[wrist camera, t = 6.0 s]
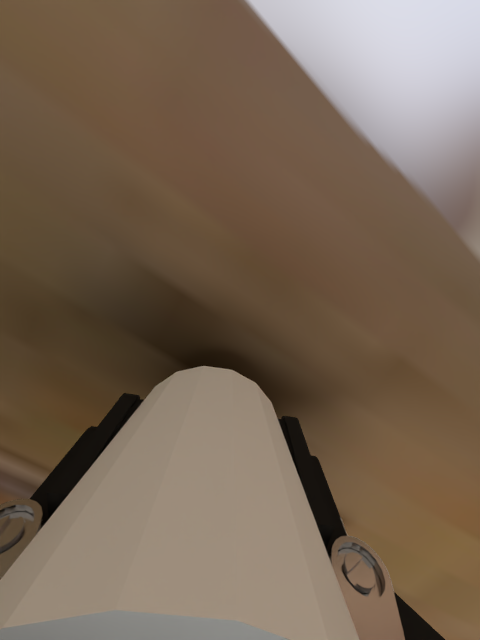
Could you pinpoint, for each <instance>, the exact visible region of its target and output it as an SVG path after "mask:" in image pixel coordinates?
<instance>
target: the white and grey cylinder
mask: <svg viewBox="0 0 480 640" xmlns="http://www.w3.org/2000/svg"><path fill="white" fill-rule="evenodd" d="M0 640H359V637H358V635H357V632H356V629H355V627H354V624H353V621H352V619H351V616H350V613H349V610H348V608H347V605H346V602H345V600H344V597H343V594H342V592H341V589H340V586H339V583H338V581H337V578H336V575H335V573H334V570H333V567H332V565H331V562H330V559H329V556H328V554H327V551H326V548H325V546H324V543H323V540H322V538H321V535H320V532H319V529H318V527H317V524H316V521H315V519H314V516H313V513H312V511H311V508H310V505H309V502H308V500H307V497H306V494H305V492H304V489H303V486H302V484H301V481H300V478H299V475H298V473H297V470H296V467H295V465H294V462H293V459H292V457H291V454H290V451H289V448H288V446H287V443H286V440H285V438H284V435H283V432H282V430H281V427H280V424H279V421H278V419H277V416H276V413H275V411H274V408H273V405H272V403H271V401H270V400H269V399H268V397H267V396H266V395H265V394H264V392H263V391H262V390H261V389H260V387H259V386H258V385H257V384H256V383H255V382H253V381H252V380H250V379H248V378H246V377H244V376H243V375H241V374H239V373H237V372H235V371H233V370H230V369H223V368H216V367H209V366H201V367H196V368H191V369H187V370H182V371H178V372H175V373H174V374H173V375H171V376H170V377H168V378H167V379H165V380H164V381H162V382H161V383H159V384H158V385H156V386H155V387H154V388H153V390H152V391H151V392H150V393H149V395H148V396H147V397H146V398H145V400H144V401H143V402H142V403H141V405H140V406H139V407H138V408H137V410H136V411H135V412H134V413H133V415H132V416H131V417H130V418H129V420H128V421H127V422H126V423H125V425H124V426H123V427H122V428H121V430H120V431H119V432H118V433H117V435H116V436H115V437H114V438H113V440H112V441H111V442H110V443H109V445H108V446H107V447H106V448H105V450H104V451H103V452H102V453H101V455H100V456H99V457H98V458H97V460H96V461H95V462H94V463H93V465H92V466H91V467H90V468H89V470H88V471H87V472H86V473H85V475H84V476H83V477H82V478H81V480H80V481H79V482H78V483H77V485H76V486H75V487H74V488H73V490H72V491H71V492H70V493H69V495H68V496H67V497H66V498H65V500H64V501H63V502H62V503H61V505H60V506H59V507H58V508H57V510H56V511H55V512H54V513H53V515H52V516H51V517H50V518H49V520H48V521H47V522H46V523H45V525H44V526H43V527H42V528H41V530H40V531H39V532H38V533H37V535H36V536H35V537H34V538H33V540H32V541H31V542H30V543H29V545H28V546H27V547H26V548H25V550H24V551H23V552H22V553H21V555H20V556H19V557H18V558H17V560H16V561H15V562H14V563H13V565H12V566H11V567H10V568H9V570H8V571H7V572H6V573H5V575H4V576H3V577H2V578H1V580H0Z"/></svg>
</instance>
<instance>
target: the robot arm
mask: <svg viewBox="0 0 480 640" xmlns="http://www.w3.org/2000/svg"><path fill="white" fill-rule="evenodd" d="M143 401H144V400H141V399H140V396H139V395H133V394H126V393H124V394H123V395H122V396H121V397H120V399H119V400H118V401H117V402H116V404H115V405H114V406H113V408H112V409H111V410H110V411H109V413H108V414H107V415H106V417H105V418H104V419H103V420H102V422H101V423H100V424H99V426H98V427H93V426H91V427H89V428H88V429H87V430H86V431H85V432H84V434H83V435H82V436H81V437H80V438H79V440H78V441H77V442H76V443H75V445H74V446H73V447H72V448H71V449H70V451H69V452H68V453H67V454H66V455H65V457H64V458H63V459H62V460H61V462H60V463H59V464H58V465H57V466H56V468H55V469H54V470H53V471H52V472H51V474H50V475H49V476H48V477H47V479H46V480H45V481H44V482H43V483H42V485H41V486H40V487H39V488H38V489H37V491H36V492H35V493H34V494H33V496H32V497H31V498H30V499H17V500H13V501H9V502H6V503H4V504H1V505H0V580H1V578H2V577H3V576H4V575H5V573H6V572H7V571H8V570H9V568H10V567H11V566H12V565H13V563H14V562H15V561H16V560H17V558H18V557H19V556H20V555H21V553H22V552H23V551H24V550H25V548H26V547H27V546H28V545H29V543H30V542H31V541H32V540H33V538H34V537H35V536H36V535H37V533H38V532H39V531H40V530H41V528H42V527H43V526H44V525H45V523H46V522H47V521H48V520H49V518H50V517H51V516H52V515H53V513H54V512H55V511H56V510H57V508H58V507H59V506H60V505H61V503H62V502H63V501H64V500H65V498H66V497H67V496H68V495H69V493H70V492H71V491H72V490H73V488H74V487H75V486H76V485H77V483H78V482H79V481H80V480H81V478H82V477H83V476H84V475H85V473H86V472H87V471H88V470H89V468H90V467H91V466H92V465H93V463H94V462H95V461H96V460H97V458H98V457H99V456H100V455H101V453H102V452H103V451H104V450H105V448H106V447H107V446H108V445H109V443H110V442H111V441H112V440H113V438H114V437H115V436H116V435H117V433H118V432H119V431H120V430H121V428H122V427H123V426H124V425H125V423H126V422H127V421H128V420H129V418H130V417H131V416H132V415H133V413H134V412H135V411H136V410H137V408H138V407H139V406H140V405H141V403H142V402H143ZM278 421H279V424H280V427H281V430H282V432H283V435H284V438H285V440H286V443H287V446H288V448H289V451H290V454H291V457H292V459H293V462H294V465H295V467H296V470H297V473H298V475H299V478H300V481H301V484H302V486H303V489H304V492H305V494H306V497H307V500H308V502H309V505H310V508H311V511H312V513H313V516H314V519H315V521H316V524H317V527H318V529H319V532H320V535H321V538H322V540H323V543H324V546H325V548H326V551H327V554H328V556H329V559H330V562H331V565H332V567H333V570H334V573H335V575H336V578H337V581H338V583H339V586H340V589H341V592H342V594H343V597H344V600H345V602H346V605H347V608H348V610H349V613H350V616H351V619H352V621H353V624H354V627H355V629H356V632H357V635H358V637H359V640H445V639H444V638H443V637H442V636H441V635H440V634H439V633H437V632H436V631H435V630H434V629H433V628H432V627H431V626H430V625H429V624H428V623H427V622H426V621H425V620H424V619H422V618H421V617H420V616H419V615H418V614H417V613H416V612H415V611H414V610H413V609H412V608H411V607H410V606H408V605H407V604H406V603H405V602H404V601H403V600H402V599H401V598H400V597H399V596H398V595H397V594H396V593H394V590H393V586H392V582H391V579H390V576H389V573H388V571H387V569H386V567H385V565H384V564H383V562H382V560H381V559H380V558H379V556H378V555H377V554H376V553H375V552H374V550H373V549H371V548H370V547H369V546H368V545H367V544H366V543H364V542H363V541H361V540H359V539H357V538H355V537H351V536H347V534H346V531H345V529H344V526H343V523H342V521H341V518H340V515H339V513H338V510H337V507H336V505H335V502H334V500H333V497H332V494H331V492H330V489H329V486H328V484H327V481H326V478H325V476H324V473H323V470H322V468H321V465H320V462H319V460H318V458H317V457H316V456H311V455H310V453H309V450H308V447H307V444H306V441H305V438H304V435H303V432H302V429H301V427H300V424H299V421H298V419H297V418H295V417H288V416H283V417H282V419H278Z"/></svg>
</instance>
